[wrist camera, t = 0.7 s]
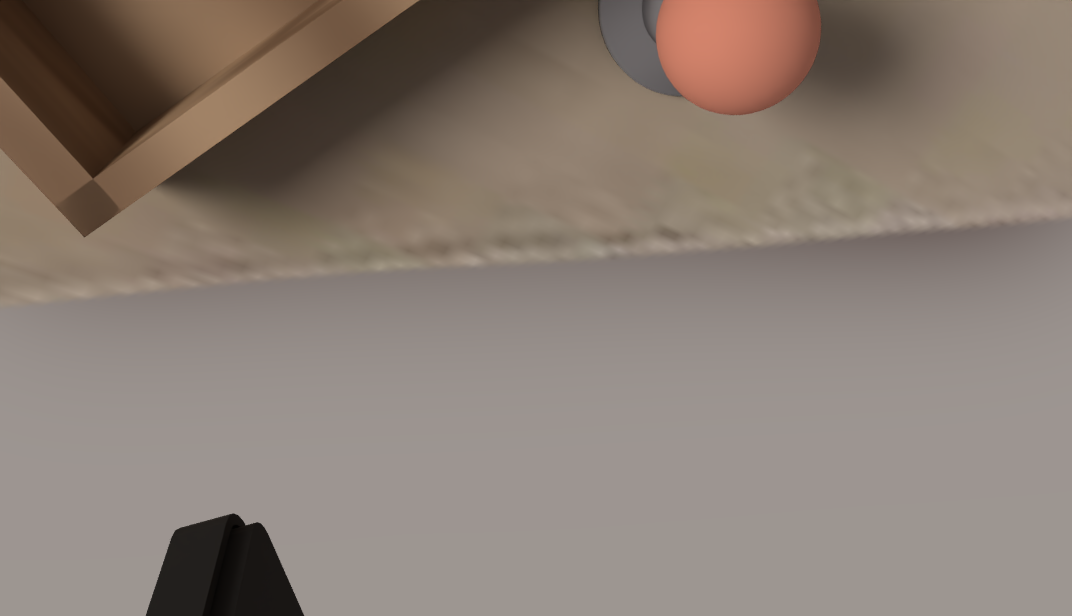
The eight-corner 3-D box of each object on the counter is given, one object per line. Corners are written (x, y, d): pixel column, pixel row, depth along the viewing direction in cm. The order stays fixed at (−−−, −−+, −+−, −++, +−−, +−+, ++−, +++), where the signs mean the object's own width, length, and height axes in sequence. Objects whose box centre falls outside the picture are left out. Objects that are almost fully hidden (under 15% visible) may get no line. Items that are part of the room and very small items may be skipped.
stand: (720, -131, 28) (754, -128, 26) (802, 28, 31) (841, 46, 28) (564, -22, 29) (581, -8, 26) (654, 126, 31) (678, 153, 29)
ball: (744, -93, 26) (800, -82, 22) (813, 40, 28) (875, 69, 24) (612, -2, 27) (646, 23, 23) (686, 124, 28) (729, 165, 25)
